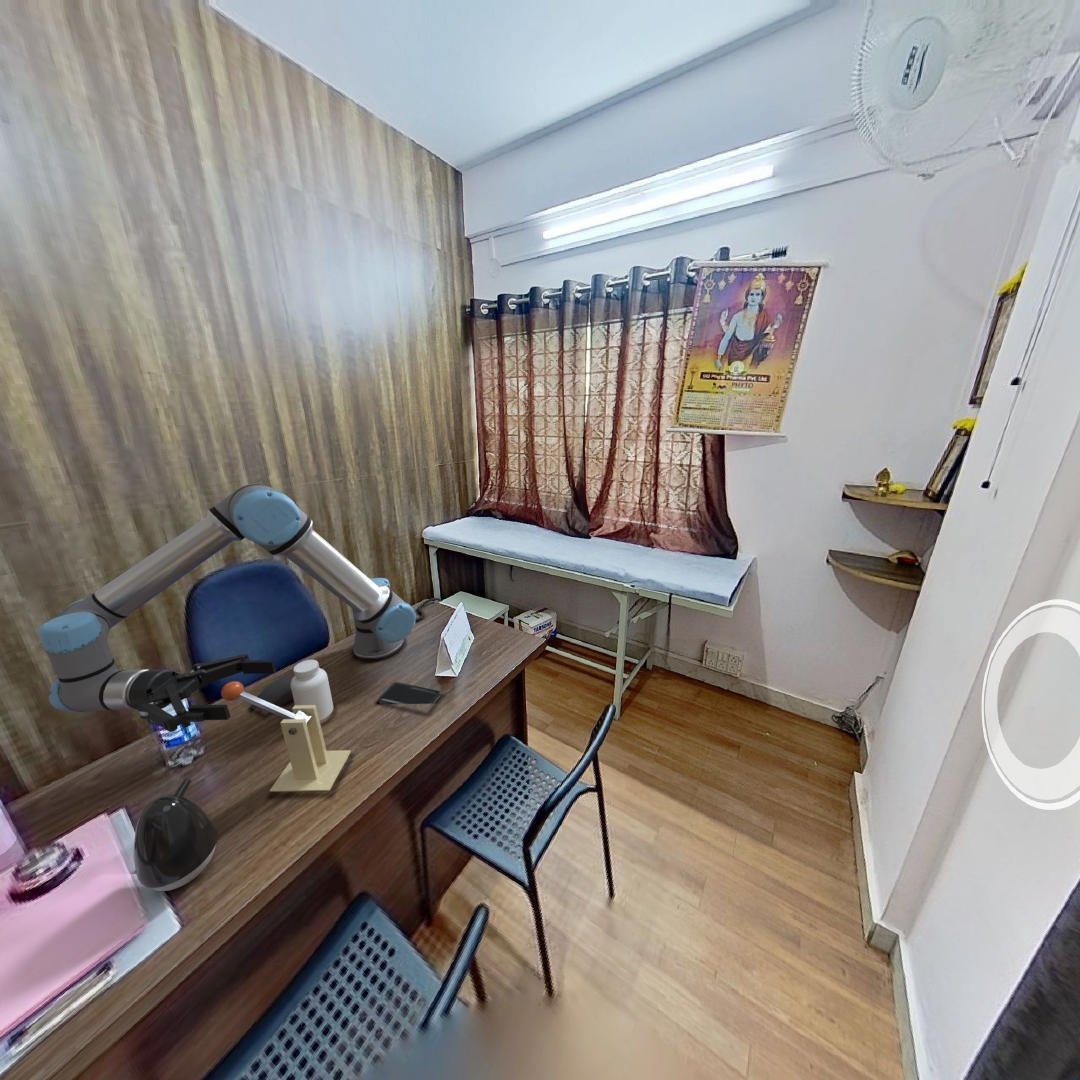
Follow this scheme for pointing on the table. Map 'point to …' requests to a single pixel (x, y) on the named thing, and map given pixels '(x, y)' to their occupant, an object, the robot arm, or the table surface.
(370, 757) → the table surface
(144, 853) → the black rounded teardrop
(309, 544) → the robot arm
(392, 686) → the phone
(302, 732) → the bracket
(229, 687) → the lever
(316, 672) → the pill bottle
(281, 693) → the computer mouse
